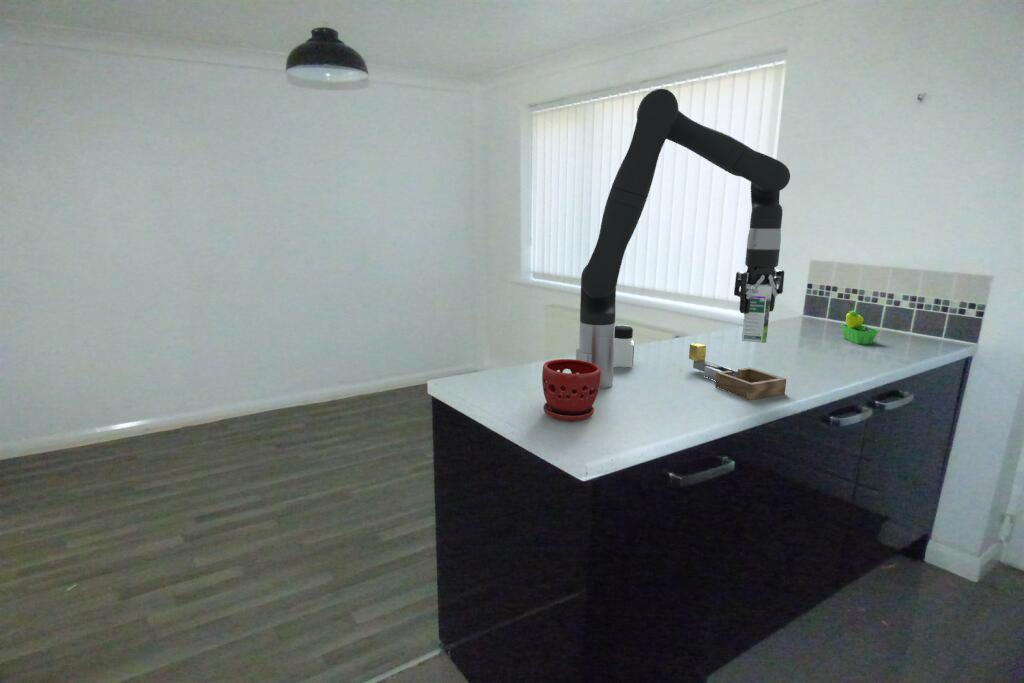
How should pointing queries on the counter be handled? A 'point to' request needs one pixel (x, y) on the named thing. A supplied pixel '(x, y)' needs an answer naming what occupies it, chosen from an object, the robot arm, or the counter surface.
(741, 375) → the wooden tray
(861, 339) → the fruit basket
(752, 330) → the syrup box
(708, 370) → the pin guide
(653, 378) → the counter surface
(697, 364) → the lock pin
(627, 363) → the medicine bottle
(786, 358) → the counter surface
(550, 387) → the plant pot
